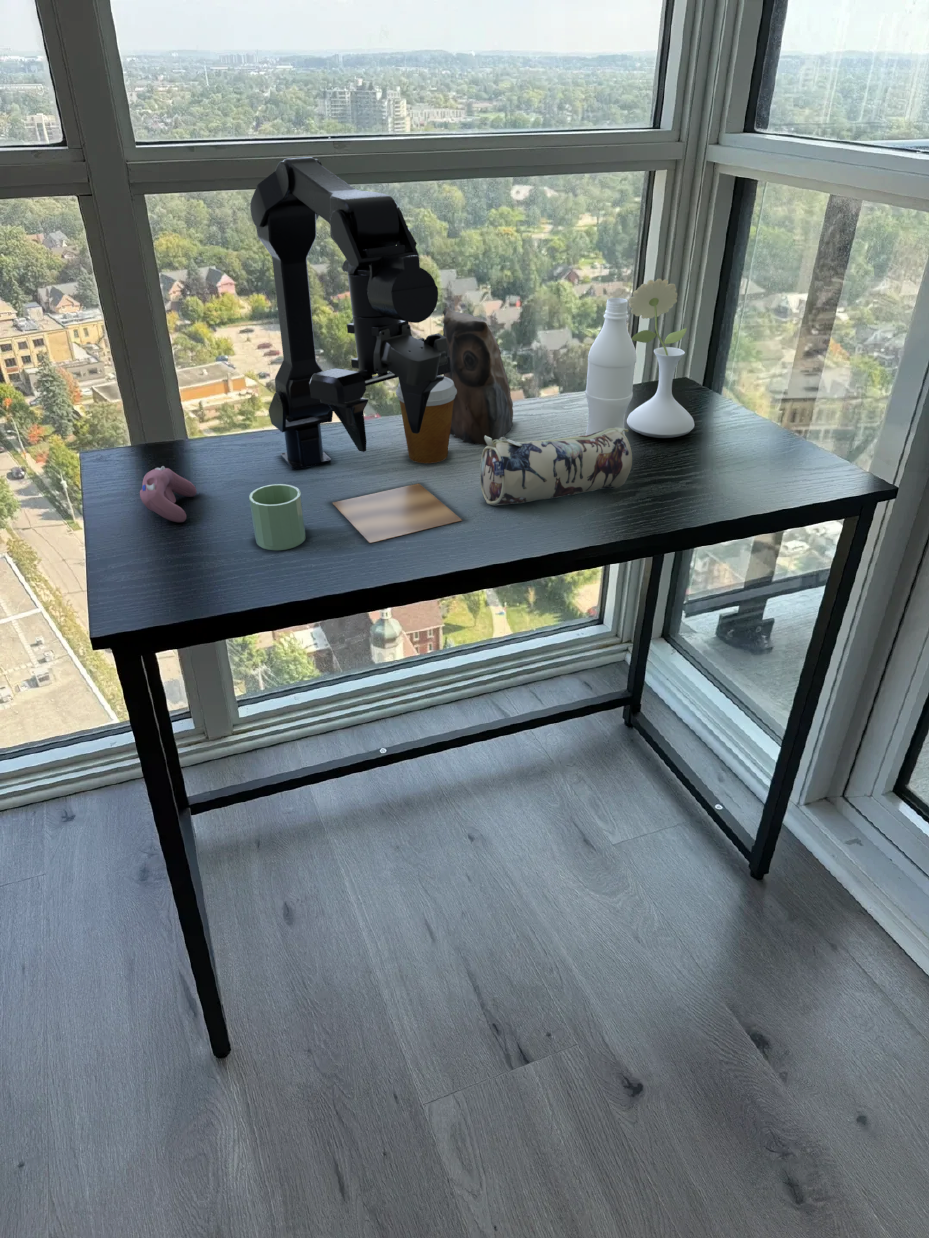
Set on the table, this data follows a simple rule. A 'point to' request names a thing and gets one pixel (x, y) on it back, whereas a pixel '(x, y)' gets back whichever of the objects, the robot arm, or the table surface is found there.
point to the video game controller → (165, 493)
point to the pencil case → (553, 466)
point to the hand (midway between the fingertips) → (389, 442)
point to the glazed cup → (277, 516)
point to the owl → (476, 380)
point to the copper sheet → (395, 512)
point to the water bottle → (610, 370)
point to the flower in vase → (662, 409)
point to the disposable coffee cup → (431, 424)
